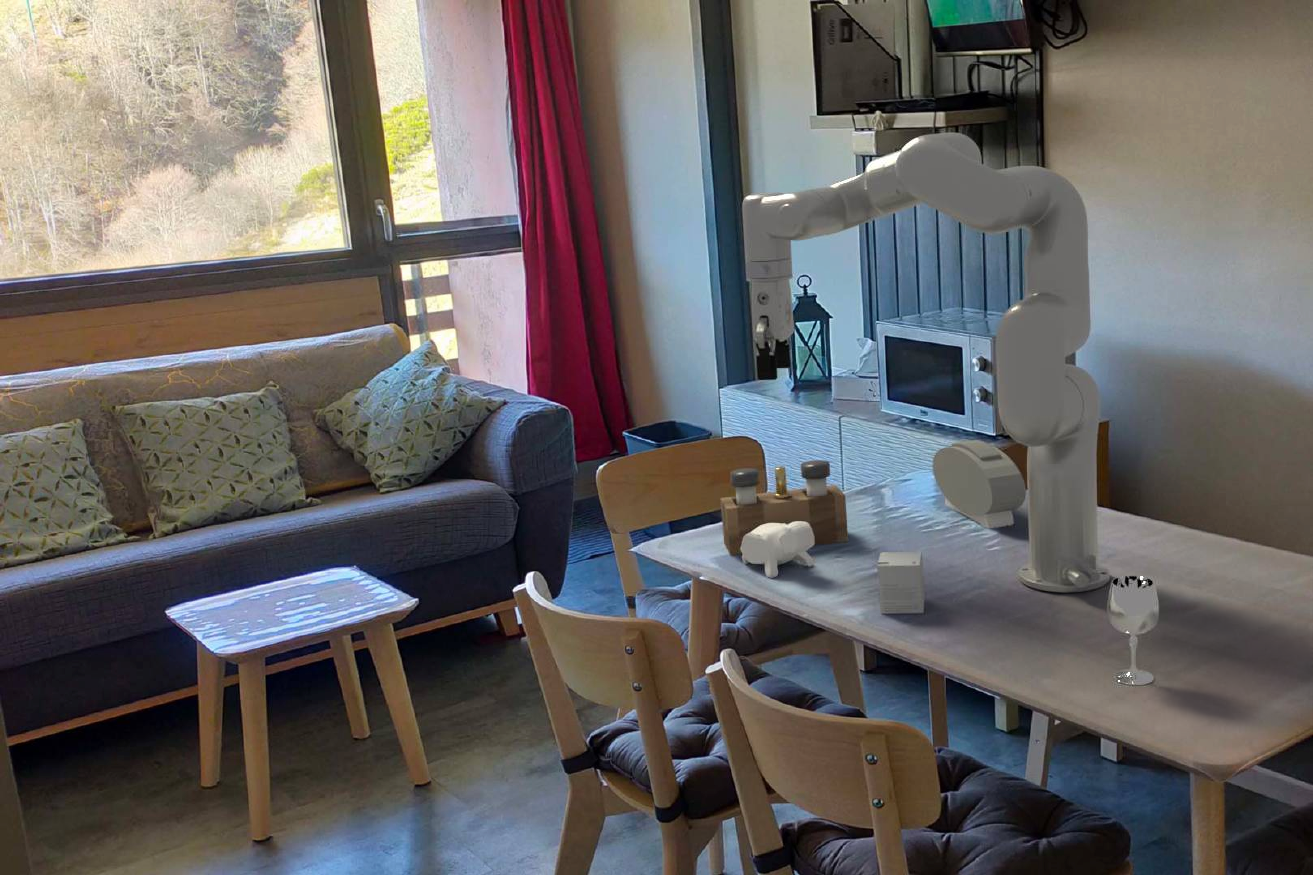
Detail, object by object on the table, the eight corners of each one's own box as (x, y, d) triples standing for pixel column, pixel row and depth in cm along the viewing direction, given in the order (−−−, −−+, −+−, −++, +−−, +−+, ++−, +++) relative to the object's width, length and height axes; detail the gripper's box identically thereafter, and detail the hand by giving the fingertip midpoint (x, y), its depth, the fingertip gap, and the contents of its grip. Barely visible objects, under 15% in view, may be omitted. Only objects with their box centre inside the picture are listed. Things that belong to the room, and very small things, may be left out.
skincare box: (925, 599, 185) (922, 550, 183) (923, 614, 179) (921, 564, 177) (882, 599, 186) (880, 551, 184) (879, 614, 180) (876, 564, 179)
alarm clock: (1028, 529, 212) (1025, 454, 209) (993, 534, 211) (991, 459, 208) (965, 496, 234) (962, 428, 231) (934, 500, 233) (930, 432, 230)
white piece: (742, 585, 207) (792, 572, 194) (728, 534, 208) (776, 518, 195) (785, 572, 211) (837, 559, 198) (770, 523, 212) (821, 506, 199)
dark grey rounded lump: (765, 525, 213) (761, 473, 211) (736, 529, 213) (732, 476, 211) (760, 518, 218) (756, 467, 216) (732, 521, 218) (728, 470, 216)
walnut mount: (848, 541, 214) (845, 495, 212) (730, 555, 213) (726, 508, 211) (838, 529, 221) (835, 484, 219) (724, 542, 219) (720, 498, 218)
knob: (835, 517, 214) (832, 465, 212) (807, 520, 214) (804, 468, 212) (829, 510, 219) (825, 459, 217) (801, 513, 218) (798, 462, 217)
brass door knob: (792, 497, 214) (790, 469, 213) (774, 499, 213) (772, 471, 212) (789, 493, 217) (786, 464, 216) (771, 495, 216) (769, 466, 215)
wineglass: (1107, 685, 151) (1105, 589, 148) (1109, 666, 156) (1107, 573, 154) (1159, 688, 149) (1159, 591, 146) (1159, 669, 154) (1158, 574, 152)
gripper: (779, 276, 199) (785, 384, 203) (802, 263, 215) (807, 363, 218) (732, 278, 201) (739, 384, 205) (759, 265, 217) (764, 364, 221)
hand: (774, 373), depth 212 cm, fingers open, 9 cm apart
